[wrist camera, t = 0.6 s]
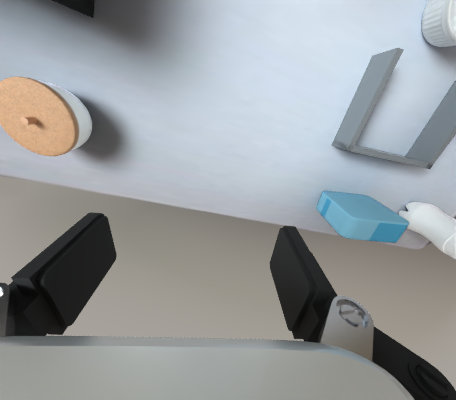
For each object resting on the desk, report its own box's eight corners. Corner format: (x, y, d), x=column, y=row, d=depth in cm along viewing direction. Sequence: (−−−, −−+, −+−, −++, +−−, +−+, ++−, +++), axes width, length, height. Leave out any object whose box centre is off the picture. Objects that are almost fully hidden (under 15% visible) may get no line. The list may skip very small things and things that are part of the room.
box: (372, 55, 31) (397, 47, 27) (459, 82, 33) (496, 78, 29) (331, 144, 38) (346, 150, 33) (406, 161, 40) (429, 169, 36)
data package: (313, 206, 45) (342, 238, 34) (320, 189, 42) (353, 218, 32) (359, 211, 46) (401, 243, 35) (367, 195, 44) (415, 224, 33)
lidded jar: (36, 71, 30) (-33, 59, 22) (105, 97, 32) (65, 94, 24) (42, 135, 35) (-13, 144, 27) (102, 154, 37) (67, 168, 29)
